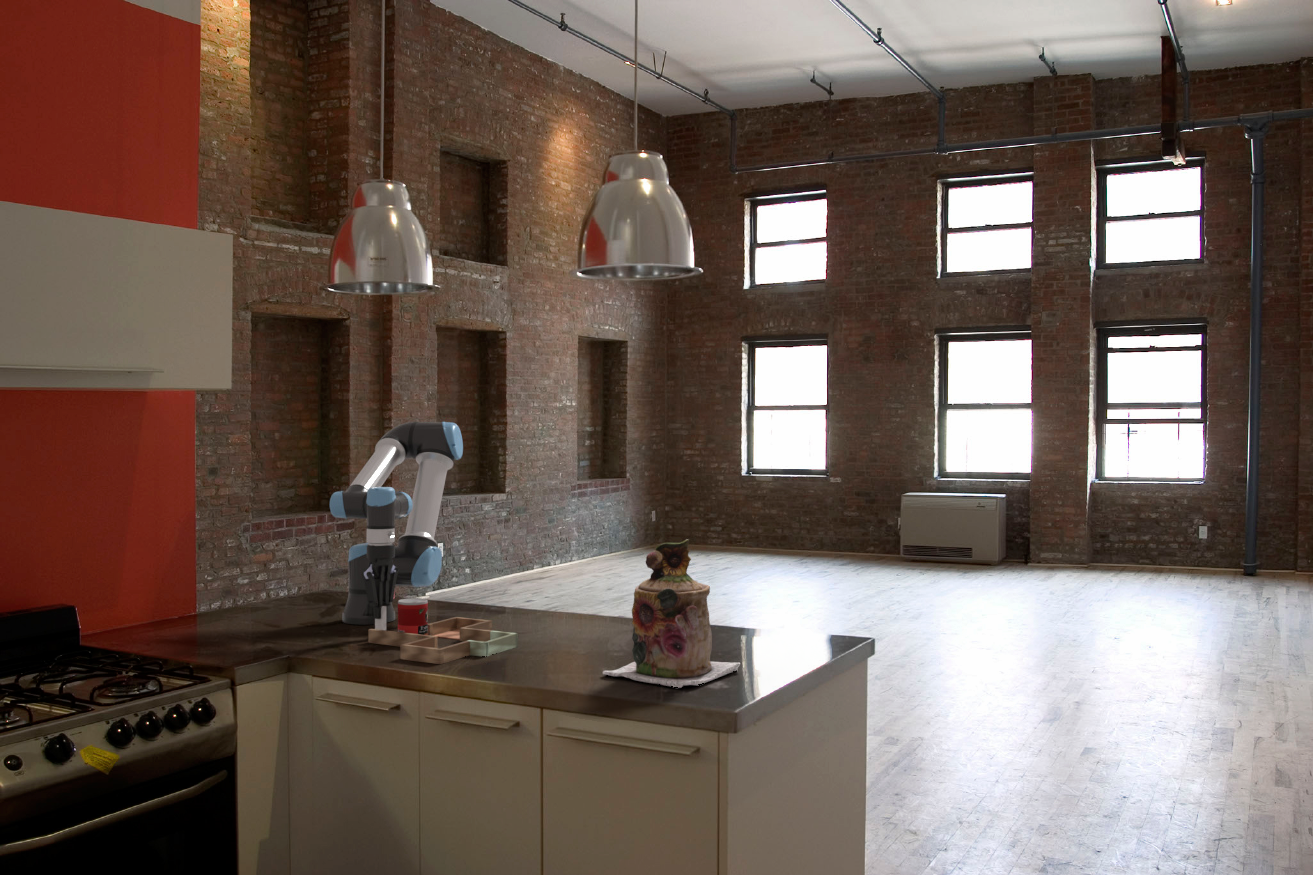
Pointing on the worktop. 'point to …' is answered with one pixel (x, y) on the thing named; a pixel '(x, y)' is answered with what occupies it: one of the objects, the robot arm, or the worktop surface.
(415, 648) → the channel
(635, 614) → the cookie jar
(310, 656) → the worktop surface
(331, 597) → the worktop surface
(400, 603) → the canned food
